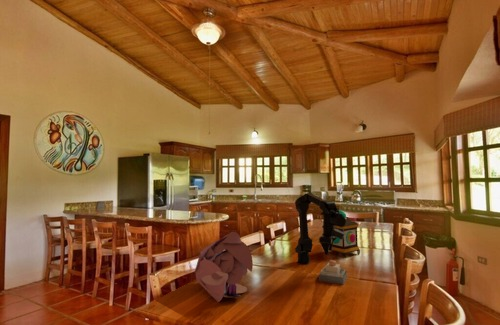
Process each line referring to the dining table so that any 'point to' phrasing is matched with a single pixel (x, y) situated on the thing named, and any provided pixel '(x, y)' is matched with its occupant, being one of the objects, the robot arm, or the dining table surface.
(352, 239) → the decorative lantern
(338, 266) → the beige cube with knob
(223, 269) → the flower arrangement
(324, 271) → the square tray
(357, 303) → the dining table surface
